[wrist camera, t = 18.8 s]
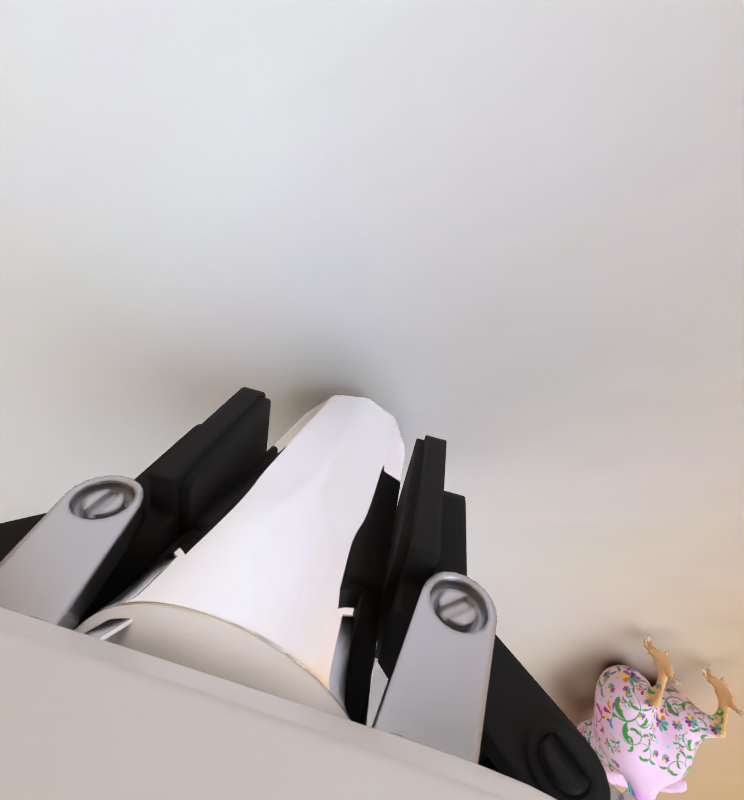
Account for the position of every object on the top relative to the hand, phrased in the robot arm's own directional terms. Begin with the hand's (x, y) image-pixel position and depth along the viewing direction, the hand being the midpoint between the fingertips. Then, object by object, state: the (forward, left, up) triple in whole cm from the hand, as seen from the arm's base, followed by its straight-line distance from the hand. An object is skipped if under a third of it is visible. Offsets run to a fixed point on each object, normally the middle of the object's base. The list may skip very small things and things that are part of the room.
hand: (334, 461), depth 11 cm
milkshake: (0, 0, -2) cm, 2 cm away
